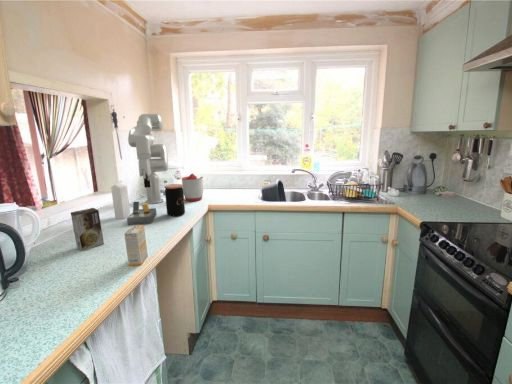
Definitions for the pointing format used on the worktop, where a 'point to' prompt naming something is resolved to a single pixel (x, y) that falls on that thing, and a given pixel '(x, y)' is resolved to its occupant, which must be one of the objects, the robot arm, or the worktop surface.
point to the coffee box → (87, 228)
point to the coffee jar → (174, 200)
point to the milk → (120, 200)
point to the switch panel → (142, 217)
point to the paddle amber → (145, 208)
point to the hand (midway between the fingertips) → (147, 187)
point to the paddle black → (135, 207)
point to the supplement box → (136, 245)
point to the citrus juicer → (192, 187)
